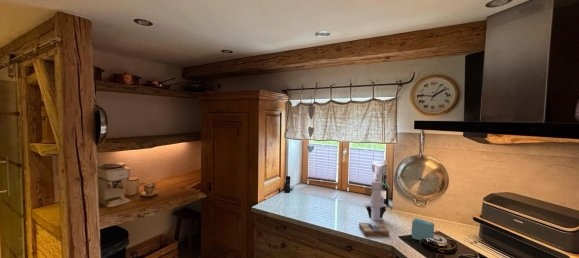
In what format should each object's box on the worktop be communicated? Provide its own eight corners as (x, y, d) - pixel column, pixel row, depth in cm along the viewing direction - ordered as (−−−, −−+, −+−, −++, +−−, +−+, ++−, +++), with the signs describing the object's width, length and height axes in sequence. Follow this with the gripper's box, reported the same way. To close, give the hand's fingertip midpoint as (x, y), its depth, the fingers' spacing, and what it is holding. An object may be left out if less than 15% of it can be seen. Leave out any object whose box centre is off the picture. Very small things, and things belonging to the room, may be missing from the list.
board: (359, 226, 164) (359, 222, 164) (381, 227, 165) (381, 223, 164) (364, 235, 152) (365, 231, 152) (388, 235, 153) (389, 231, 152)
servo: (368, 228, 162) (368, 220, 162) (373, 228, 162) (373, 220, 162) (373, 234, 154) (373, 226, 153) (378, 234, 154) (379, 226, 154)
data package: (433, 241, 147) (434, 222, 147) (432, 244, 144) (433, 225, 143) (412, 235, 154) (413, 217, 153) (411, 238, 150) (412, 220, 150)
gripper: (367, 200, 153) (366, 220, 154) (389, 200, 154) (388, 220, 154) (364, 196, 160) (363, 215, 161) (384, 196, 161) (384, 215, 161)
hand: (375, 217), depth 158 cm, fingers open, 7 cm apart
